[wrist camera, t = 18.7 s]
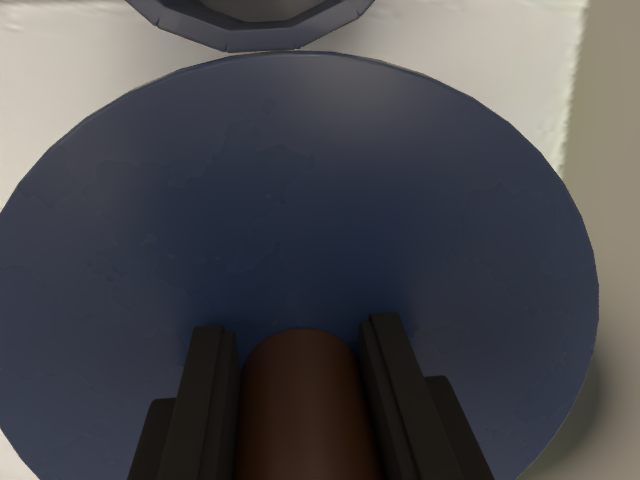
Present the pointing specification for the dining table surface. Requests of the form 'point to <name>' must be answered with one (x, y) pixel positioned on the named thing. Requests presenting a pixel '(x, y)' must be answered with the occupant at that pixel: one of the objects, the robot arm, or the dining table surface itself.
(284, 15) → the tin
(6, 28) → the dining table surface
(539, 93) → the dining table surface
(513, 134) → the tin lid
